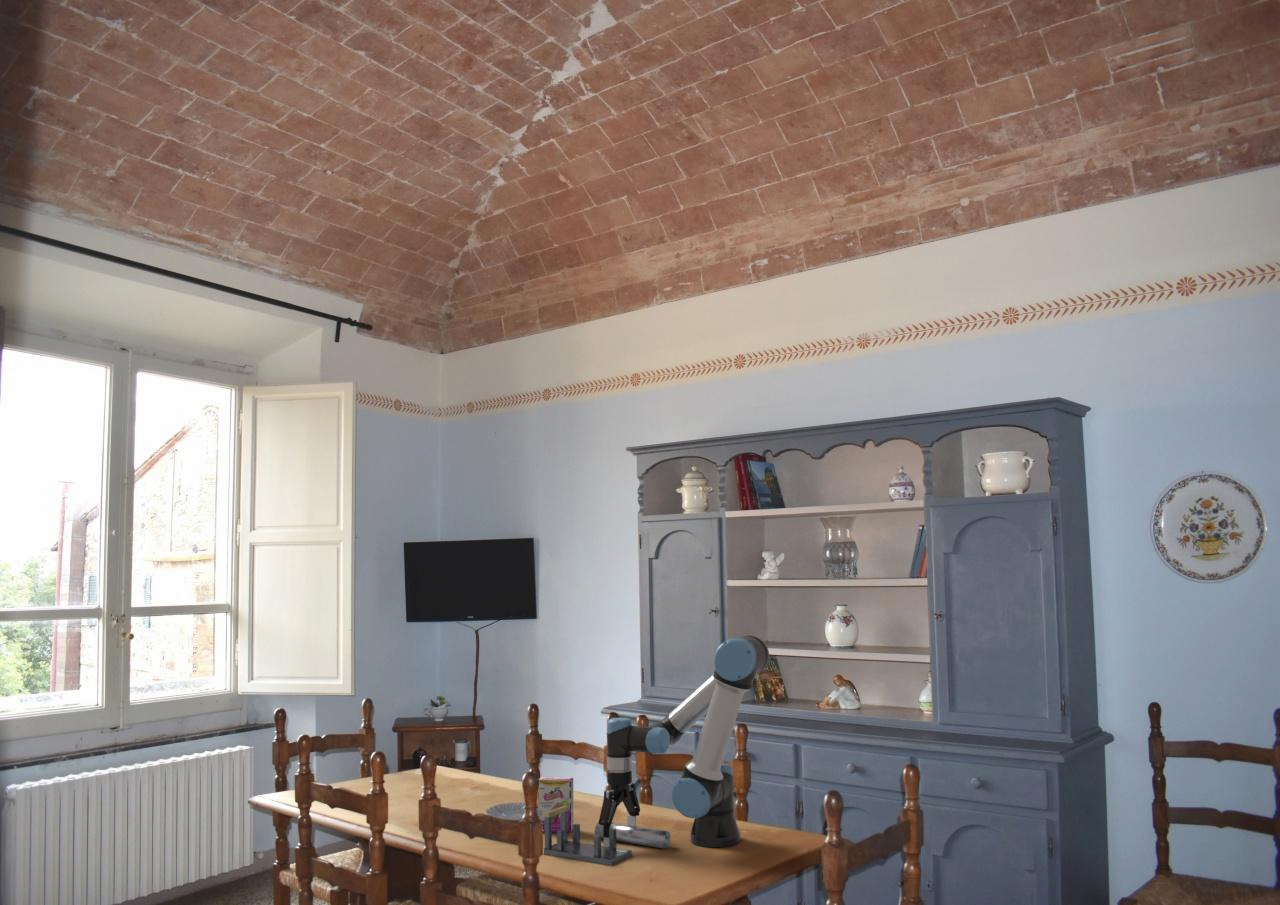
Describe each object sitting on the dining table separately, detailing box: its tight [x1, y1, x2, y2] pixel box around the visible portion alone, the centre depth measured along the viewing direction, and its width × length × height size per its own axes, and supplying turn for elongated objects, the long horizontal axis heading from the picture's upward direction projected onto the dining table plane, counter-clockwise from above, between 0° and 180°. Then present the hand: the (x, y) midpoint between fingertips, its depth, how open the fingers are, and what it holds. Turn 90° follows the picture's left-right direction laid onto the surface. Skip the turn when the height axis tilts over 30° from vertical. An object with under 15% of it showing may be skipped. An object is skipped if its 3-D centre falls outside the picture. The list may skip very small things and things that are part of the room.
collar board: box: [543, 806, 633, 866], centre depth 297 cm, size 24×11×12 cm, turn 58°
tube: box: [594, 821, 672, 850], centre depth 308 cm, size 24×5×5 cm
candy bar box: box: [538, 776, 575, 834], centre depth 325 cm, size 11×5×16 cm, turn 84°
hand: (620, 843), depth 308 cm, fingers open, 12 cm apart
